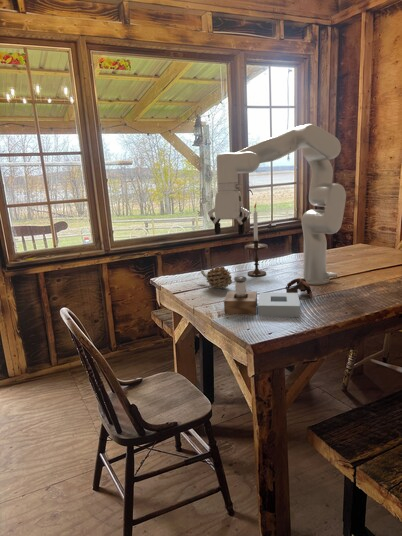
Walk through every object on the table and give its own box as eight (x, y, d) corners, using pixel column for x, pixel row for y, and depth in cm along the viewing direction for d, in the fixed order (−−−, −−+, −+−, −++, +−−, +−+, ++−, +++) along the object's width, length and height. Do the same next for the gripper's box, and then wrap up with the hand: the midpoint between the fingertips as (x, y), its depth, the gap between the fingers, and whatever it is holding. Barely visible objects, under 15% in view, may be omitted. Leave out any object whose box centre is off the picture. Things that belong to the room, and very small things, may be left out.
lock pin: (247, 307, 137) (246, 276, 134) (246, 311, 133) (245, 279, 130) (236, 307, 138) (235, 276, 135) (235, 311, 134) (233, 279, 131)
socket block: (297, 302, 138) (297, 292, 137) (300, 316, 125) (300, 305, 124) (259, 302, 141) (259, 292, 140) (258, 316, 127) (258, 305, 126)
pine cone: (239, 289, 159) (238, 266, 157) (222, 294, 153) (221, 271, 151) (207, 279, 176) (206, 259, 174) (191, 284, 171) (189, 263, 168)
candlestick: (272, 275, 177) (271, 201, 168) (252, 278, 173) (250, 203, 165) (261, 270, 187) (259, 200, 178) (241, 273, 183) (239, 202, 175)
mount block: (257, 304, 139) (256, 291, 138) (255, 314, 129) (255, 301, 128) (228, 303, 142) (227, 291, 140) (224, 314, 131) (224, 301, 130)
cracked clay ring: (313, 302, 139) (302, 285, 137) (291, 309, 144) (280, 293, 143) (317, 285, 149) (307, 269, 147) (296, 293, 154) (286, 277, 152)
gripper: (253, 186, 134) (254, 233, 138) (212, 188, 142) (213, 232, 146) (245, 187, 128) (246, 236, 132) (202, 189, 136) (204, 235, 140)
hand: (229, 234), depth 139 cm, fingers open, 9 cm apart
